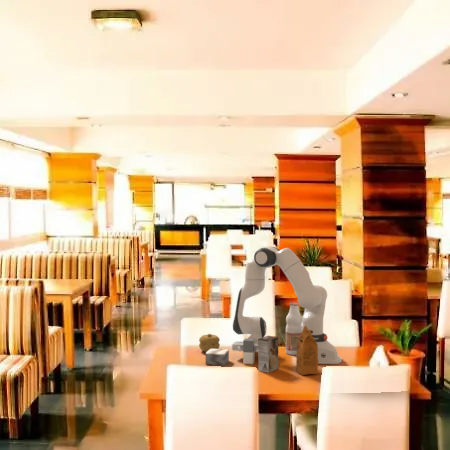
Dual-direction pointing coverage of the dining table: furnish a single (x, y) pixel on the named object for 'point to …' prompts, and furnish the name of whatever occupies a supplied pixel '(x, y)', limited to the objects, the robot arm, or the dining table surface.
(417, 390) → the dining table surface
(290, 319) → the fruit juice
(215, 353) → the stand
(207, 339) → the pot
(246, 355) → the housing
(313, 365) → the coffee package
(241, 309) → the robot arm
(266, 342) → the coffee box
